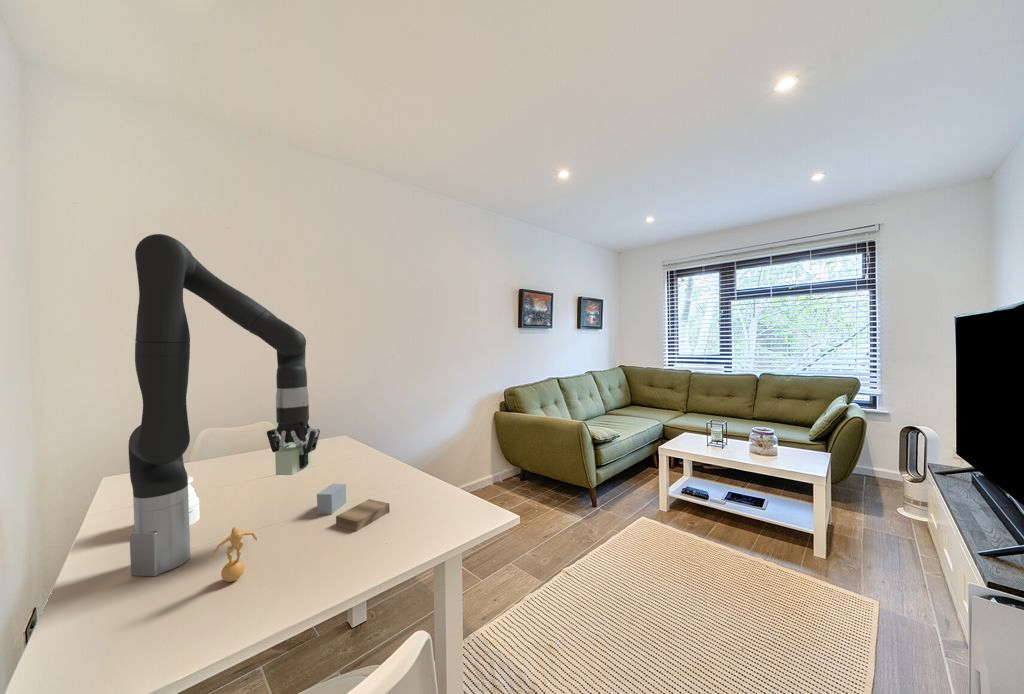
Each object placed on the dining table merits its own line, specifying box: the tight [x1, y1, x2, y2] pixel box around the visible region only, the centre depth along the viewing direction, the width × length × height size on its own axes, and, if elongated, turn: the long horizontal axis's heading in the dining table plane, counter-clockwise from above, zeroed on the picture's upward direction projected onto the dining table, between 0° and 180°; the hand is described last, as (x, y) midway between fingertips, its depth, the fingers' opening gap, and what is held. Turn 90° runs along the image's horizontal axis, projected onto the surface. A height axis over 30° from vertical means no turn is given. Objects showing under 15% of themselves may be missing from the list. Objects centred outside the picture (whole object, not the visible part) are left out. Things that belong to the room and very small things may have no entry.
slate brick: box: [316, 483, 347, 515], centre depth 115 cm, size 8×4×6 cm, turn 175°
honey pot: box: [187, 475, 201, 527], centre depth 106 cm, size 13×13×18 cm
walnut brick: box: [335, 498, 390, 532], centre depth 108 cm, size 12×8×3 cm, turn 155°
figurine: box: [209, 526, 258, 583], centre depth 80 cm, size 8×6×12 cm
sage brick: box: [274, 443, 313, 476], centre depth 101 cm, size 8×4×6 cm, turn 175°
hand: (294, 467), depth 101 cm, fingers closed on sage brick, 4 cm apart
